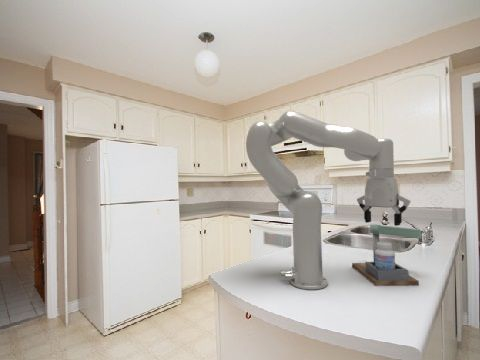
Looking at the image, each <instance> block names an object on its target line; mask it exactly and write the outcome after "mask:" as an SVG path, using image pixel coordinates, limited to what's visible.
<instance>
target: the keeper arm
mask: <svg viewBox="0 0 480 360" xmlns="http://www.w3.org/2000/svg"><path fill="white" fill-rule="evenodd" d="M369 231H370V233H371V234H373V233H374V234H379V235H385V236H386V235H387V236H394V237H395V236H396V237H403V238H413V239H421V238H422V232H421V231H422V230H421V228H414V227H413V228H412V227H403V226H395V225H394V226H393V225H383V224H376V223H375V224H373V223H372V224H370V225H369Z"/></svg>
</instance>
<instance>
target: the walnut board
mask: <svg viewBox="0 0 480 360" xmlns="http://www.w3.org/2000/svg"><path fill="white" fill-rule="evenodd" d="M351 267H352V268H353V269H354V270H355V271H356V272H358V273H359V274H360V275H361V276H362V277H364V278H365V279H366V280H367V281H368V282H370V283H371V284H372V285H373V286H376V287H391V286H392V287H404V286H408V287H409V286H414V287H415V286H420V282H419V281H420V280H418V279H416V278H415V277H413V276H411V275H409V274H408V281H378V280H376V279H375V278H374V277H372V276H371V275H370V274H368V273H367V272H366V263H365V262H352V263H351Z"/></svg>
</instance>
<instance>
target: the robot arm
mask: <svg viewBox="0 0 480 360" xmlns="http://www.w3.org/2000/svg"><path fill="white" fill-rule="evenodd" d="M292 138H293V139H296V140H299V141H302V142H304V143H306V144H309V145H312V146H314V147H318V148H336V149H342V150H343V151H344V152H343V154H344V156H345V158H346V159H348V160H350V161H351V162H352V161H353V162H360V161H369V164H368V165H369V170H368V171H366V172H365V176H368V178H367V179H366V182H365V188H364V194H363V195H362V196H360V197H357V199H356V201H357V203H358V205H359V207H360V208H361V209H362V211H363V215H364V217H363V218H364V222H365V223H372V210H371V209H372V208H386V209H387V208H388V209H392V210H393V211H394V212H395V213H394V214H393V218H394V219H393V220H394V221H393V223H394V227H399V226H400V225H401V224H402V220H403V219H402V214H403V213H404V212H405V211H406V210H407V209H408V207H409V206H410V204H411V200H410V199H407V198H405V197H404V196H402V195H400V193H399V187H398V181H397V178H395V174H394V173H395V172H394V171H395V170H394V169H395V168H394V167H395V166H394V163H395V161H394V160H395V159H394V158H395V157H394V142H393V140H392V139H390V138H377V137H375V136H373V135H372V134H370V133H367V132H365V131H363V130H359V129H357V128H353V127H349V126H343V125H338V124H331V123H327V122H323V121H321V120H319V119H316V118H314V117H311V116H308V115H306V114H304V113H300V112H297V111H295V110H287V111H285V112H283V114H281V115H280V117H279V119H277V120H275V121H273V122H270V123H268V122H265V121H256V122H254V123H253V124H252V125H251V126H250V127H249V130H248V132H247V135H246V141H245V148H246V149H245V150H246V154H247V157H248V159H249V162H250V165H251V166H252V167H253V168H254V169H255V171H257V172H258V173H259V175H260V176H261V177H262V178H263V180H265V182H266V183H267V186H268V188H269V190H270V192H271V193H272V194H273V196H275V198H276V199H278V201H280V203H281V204H282V205H283V206H284V207H285V208H286V209H287V210H289V212H290V213H291V214H292V215H293V216H292V218H293V219H292V244H293V246H292V247H293V266H292V269H289V270H280V277H284V278H285V279H289V283H290V284H291V285H292V286H294V287H296V288H299V289H302V290H309V291H310V290H321V289H324V288H326V287H327V286H328V284H329V283H328V279H327V278H326V277H324V276H323V273H324V272H323V251H322V250H323V247H322V246H323V245H322V216H323V215H322V214H323V204H322V201H321V199H320V197H319V196H318V195H317V194H316V193H314V192H312V191H307V190H304V189H303V188H302V187H301V186H300V185H299V181H298V180H299V179H298V177H297V176H296V175H295V173H294V172H293V171H292V170H290V169H289V167H287V165H285V164H284V162H283V161H282V160H281V159H280V158H279V157H278V156H277V154H276V153H275V152H274V151H273V149H272V147H274V146H276V145H279V144H281V143H283V142H286V141H287V140H290V139H292ZM400 202H402V203H403V204H402V205H401V207H400Z"/></svg>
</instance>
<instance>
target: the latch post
mask: <svg viewBox="0 0 480 360" xmlns="http://www.w3.org/2000/svg"><path fill="white" fill-rule="evenodd" d="M380 238H381V237H380V234H374V233H372V252H373V254H372V255H373V256H372V257H373V262H375V250H376V249H378V247H377V243H378V242H381V241H380Z"/></svg>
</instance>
